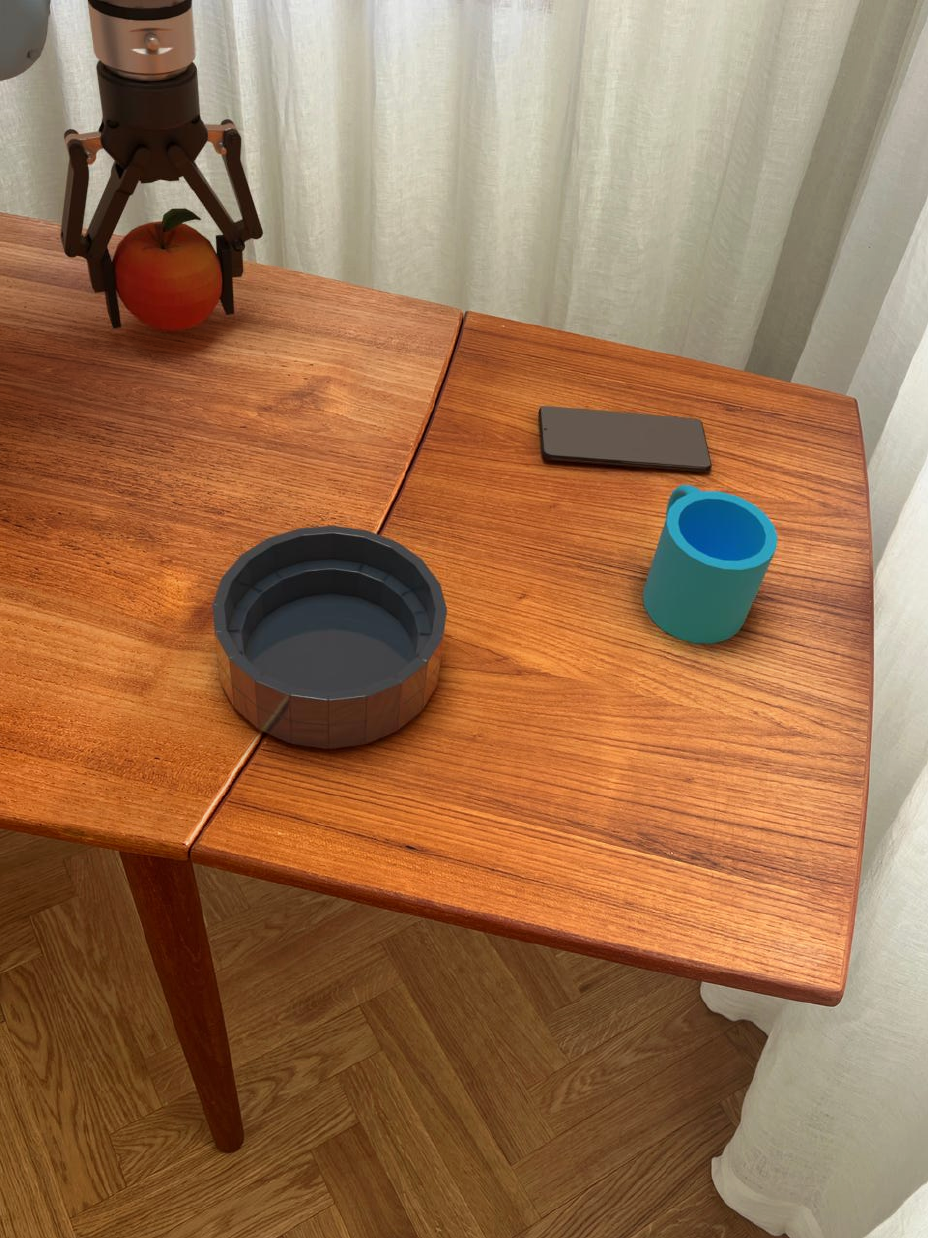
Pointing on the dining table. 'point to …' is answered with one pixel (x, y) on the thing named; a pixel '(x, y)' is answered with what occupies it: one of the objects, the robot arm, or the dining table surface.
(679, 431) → the smartphone
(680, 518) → the mug
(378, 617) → the bowl
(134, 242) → the fruit
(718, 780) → the dining table surface
